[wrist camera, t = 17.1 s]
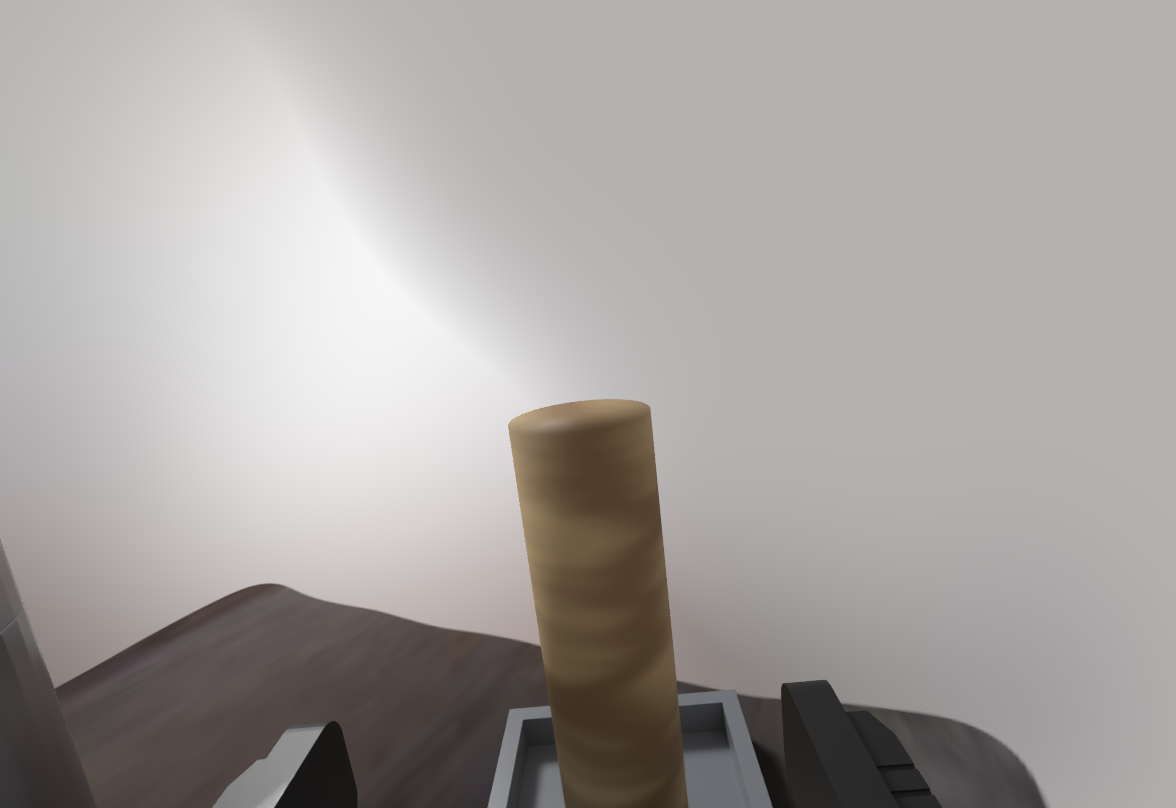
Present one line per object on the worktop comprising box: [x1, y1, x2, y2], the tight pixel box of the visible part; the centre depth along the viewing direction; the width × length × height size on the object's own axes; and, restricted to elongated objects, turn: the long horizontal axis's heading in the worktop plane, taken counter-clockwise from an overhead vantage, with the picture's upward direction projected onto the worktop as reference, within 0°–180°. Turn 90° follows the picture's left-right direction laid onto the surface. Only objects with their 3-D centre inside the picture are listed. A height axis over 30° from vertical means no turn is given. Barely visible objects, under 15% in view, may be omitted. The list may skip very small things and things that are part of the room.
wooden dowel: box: [508, 399, 689, 808], centre depth 22 cm, size 5×5×18 cm
